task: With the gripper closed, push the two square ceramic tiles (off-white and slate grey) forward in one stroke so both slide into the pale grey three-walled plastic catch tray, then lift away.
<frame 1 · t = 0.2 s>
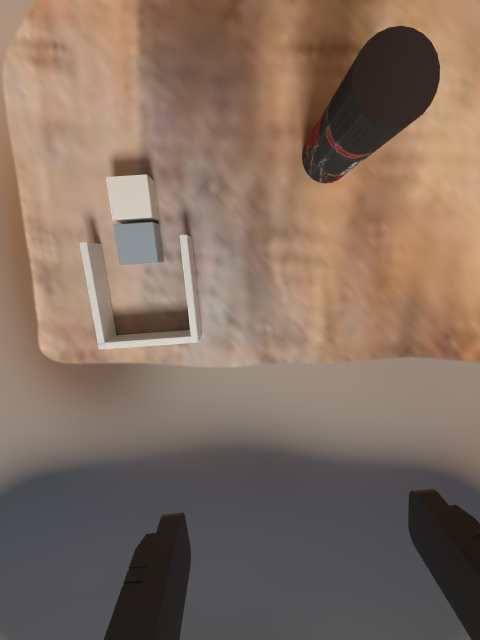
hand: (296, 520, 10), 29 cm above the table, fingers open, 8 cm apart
deodorant: (326, 156, 34), on the table
tile slate: (144, 244, 36), on the table
catch tray: (149, 288, 37), on the table
tile white: (138, 202, 35), on the table
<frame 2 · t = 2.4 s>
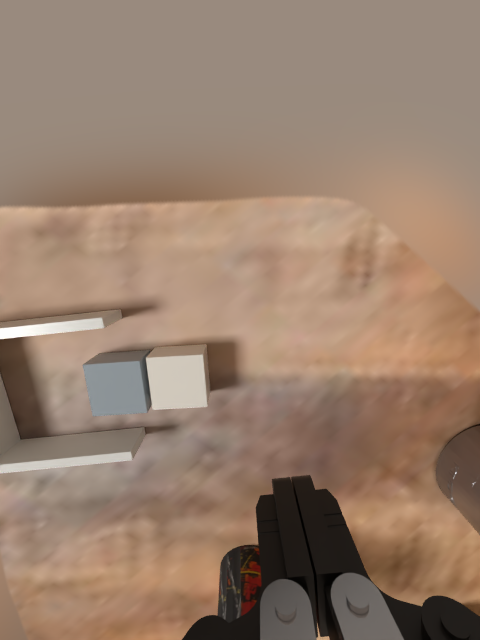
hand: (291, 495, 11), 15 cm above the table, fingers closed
deodorant: (248, 565, 31), on the table
tile slate: (129, 374, 26), on the table
catch tray: (68, 381, 26), on the table
tile white: (183, 368, 26), on the table
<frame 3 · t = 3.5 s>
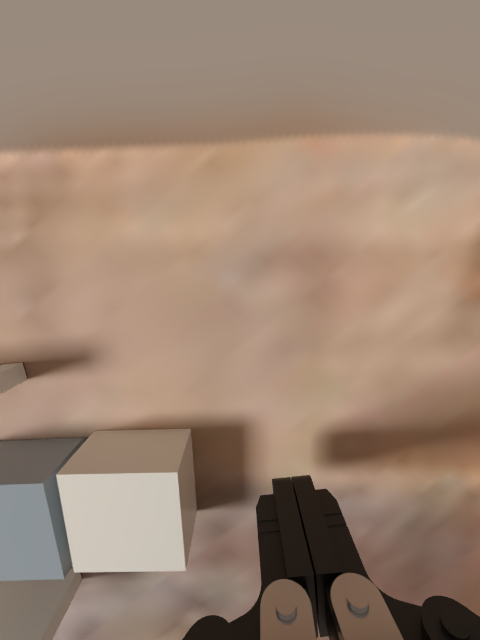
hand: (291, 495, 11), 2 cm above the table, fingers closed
tile slate: (48, 477, 14), on the table
tile white: (148, 469, 14), on the table
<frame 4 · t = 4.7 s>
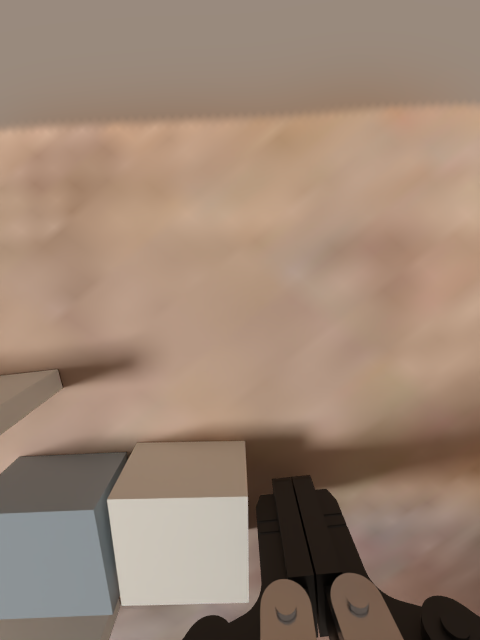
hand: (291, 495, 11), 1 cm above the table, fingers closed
tile slate: (83, 496, 13), on the table
tile white: (194, 484, 13), on the table, touching gripper
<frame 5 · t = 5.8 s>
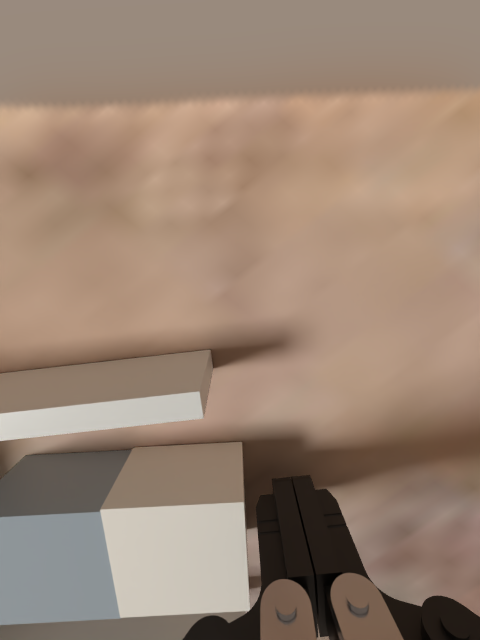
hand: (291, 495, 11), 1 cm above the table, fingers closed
tile slate: (88, 497, 12), on the table
catch tray: (91, 498, 12), on the table
tile white: (192, 490, 12), on the table, touching gripper
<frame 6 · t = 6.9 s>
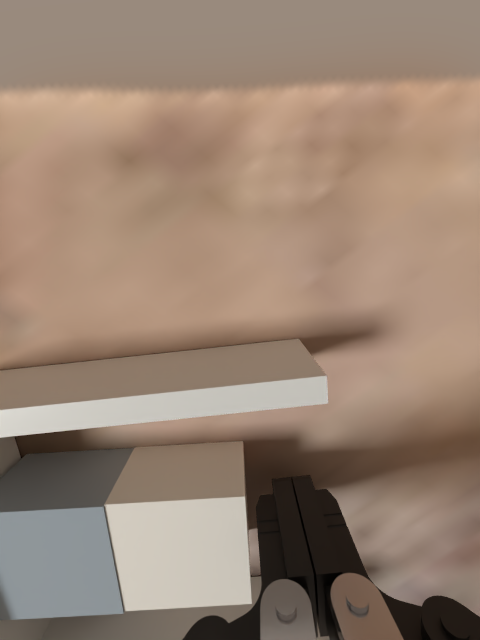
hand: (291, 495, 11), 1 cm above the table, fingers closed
tile slate: (91, 494, 13), on the table, touching catch tray
catch tray: (168, 488, 12), on the table
tile white: (194, 486, 13), on the table, touching gripper
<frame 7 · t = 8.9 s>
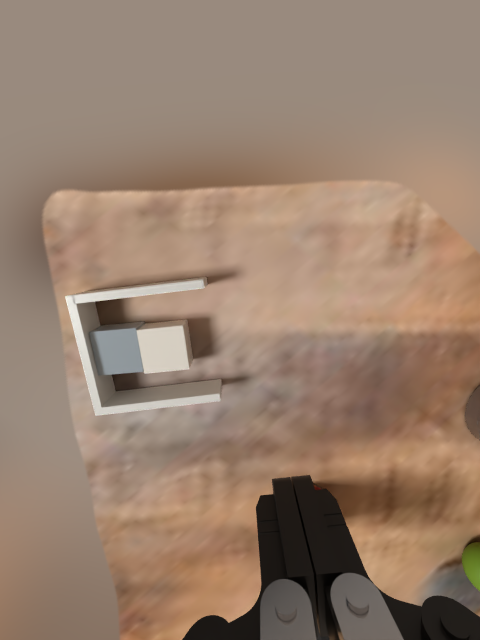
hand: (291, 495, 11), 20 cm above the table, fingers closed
snail figurine: (474, 545, 38), on the table
tile slate: (127, 343, 31), on the table
catch tray: (159, 340, 31), on the table
tile white: (169, 341, 31), on the table
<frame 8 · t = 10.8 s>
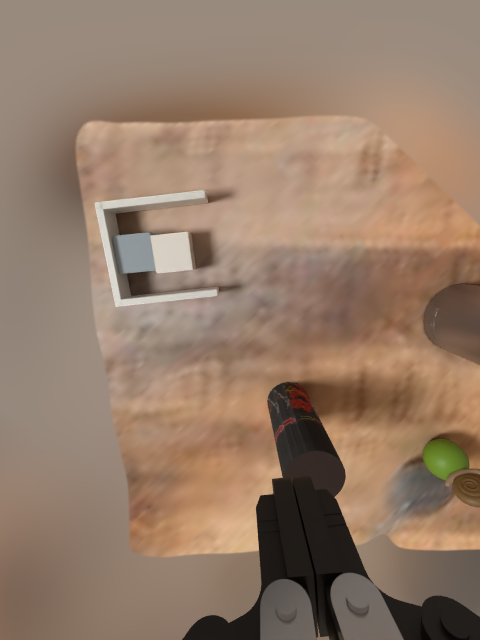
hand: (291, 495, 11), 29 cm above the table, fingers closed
deodorant: (287, 400, 42), on the table
snail figurine: (434, 445, 44), on the table
tile slate: (142, 253, 38), on the table
catch tray: (167, 251, 37), on the table
tile white: (176, 253, 38), on the table
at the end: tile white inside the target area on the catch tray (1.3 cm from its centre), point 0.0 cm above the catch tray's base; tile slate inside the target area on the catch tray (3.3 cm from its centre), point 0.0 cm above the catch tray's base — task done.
